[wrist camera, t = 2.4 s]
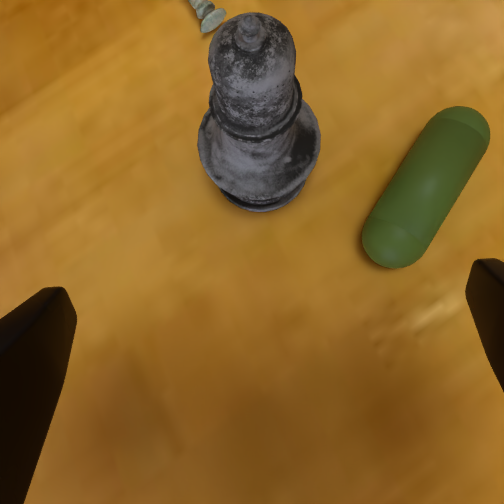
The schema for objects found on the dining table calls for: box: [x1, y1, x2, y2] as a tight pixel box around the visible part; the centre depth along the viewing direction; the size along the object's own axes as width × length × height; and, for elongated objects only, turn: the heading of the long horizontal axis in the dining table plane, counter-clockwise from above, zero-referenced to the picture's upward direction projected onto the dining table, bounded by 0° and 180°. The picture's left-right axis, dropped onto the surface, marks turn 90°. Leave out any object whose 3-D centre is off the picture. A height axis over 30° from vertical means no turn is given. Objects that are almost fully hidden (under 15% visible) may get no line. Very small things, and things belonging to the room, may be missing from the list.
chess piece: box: [197, 13, 321, 212], centre depth 18 cm, size 6×6×12 cm
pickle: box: [362, 106, 490, 268], centre depth 22 cm, size 9×3×3 cm, turn 147°
